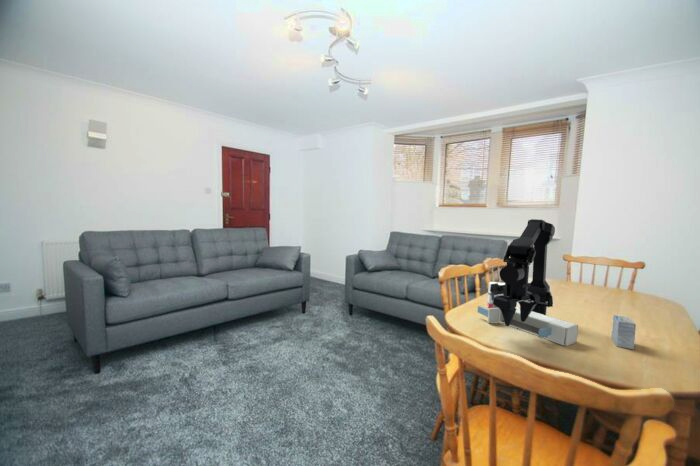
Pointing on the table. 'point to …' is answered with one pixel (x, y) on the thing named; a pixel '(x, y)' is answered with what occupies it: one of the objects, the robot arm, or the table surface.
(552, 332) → the flap
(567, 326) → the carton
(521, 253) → the robot arm
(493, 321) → the flap
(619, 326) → the medicine box
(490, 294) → the ink box
